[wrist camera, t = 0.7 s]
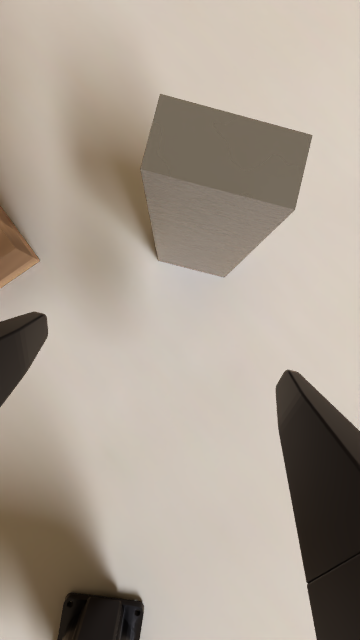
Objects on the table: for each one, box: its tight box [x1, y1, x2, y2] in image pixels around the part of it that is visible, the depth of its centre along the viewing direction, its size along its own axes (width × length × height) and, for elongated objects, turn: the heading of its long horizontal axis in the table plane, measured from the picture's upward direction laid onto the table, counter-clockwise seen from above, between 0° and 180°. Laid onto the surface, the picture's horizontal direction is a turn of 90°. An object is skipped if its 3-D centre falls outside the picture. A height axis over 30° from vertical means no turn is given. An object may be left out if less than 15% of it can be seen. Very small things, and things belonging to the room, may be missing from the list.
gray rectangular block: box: [141, 94, 312, 277], centre depth 16 cm, size 3×6×13 cm, turn 76°
